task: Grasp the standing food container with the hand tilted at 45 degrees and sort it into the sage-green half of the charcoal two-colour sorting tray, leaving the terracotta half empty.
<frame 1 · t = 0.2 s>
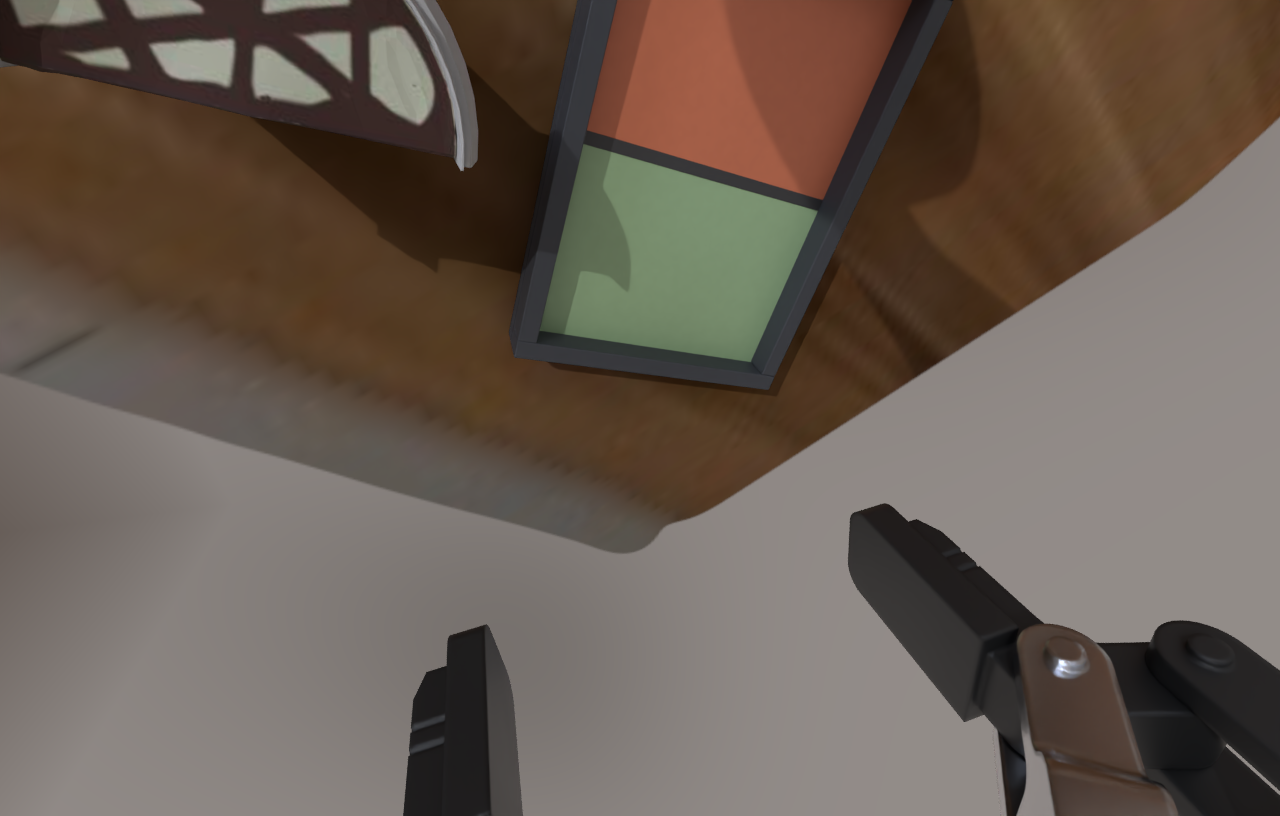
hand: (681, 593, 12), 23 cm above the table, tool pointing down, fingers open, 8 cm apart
sorting tray: (701, 167, 30), on the table
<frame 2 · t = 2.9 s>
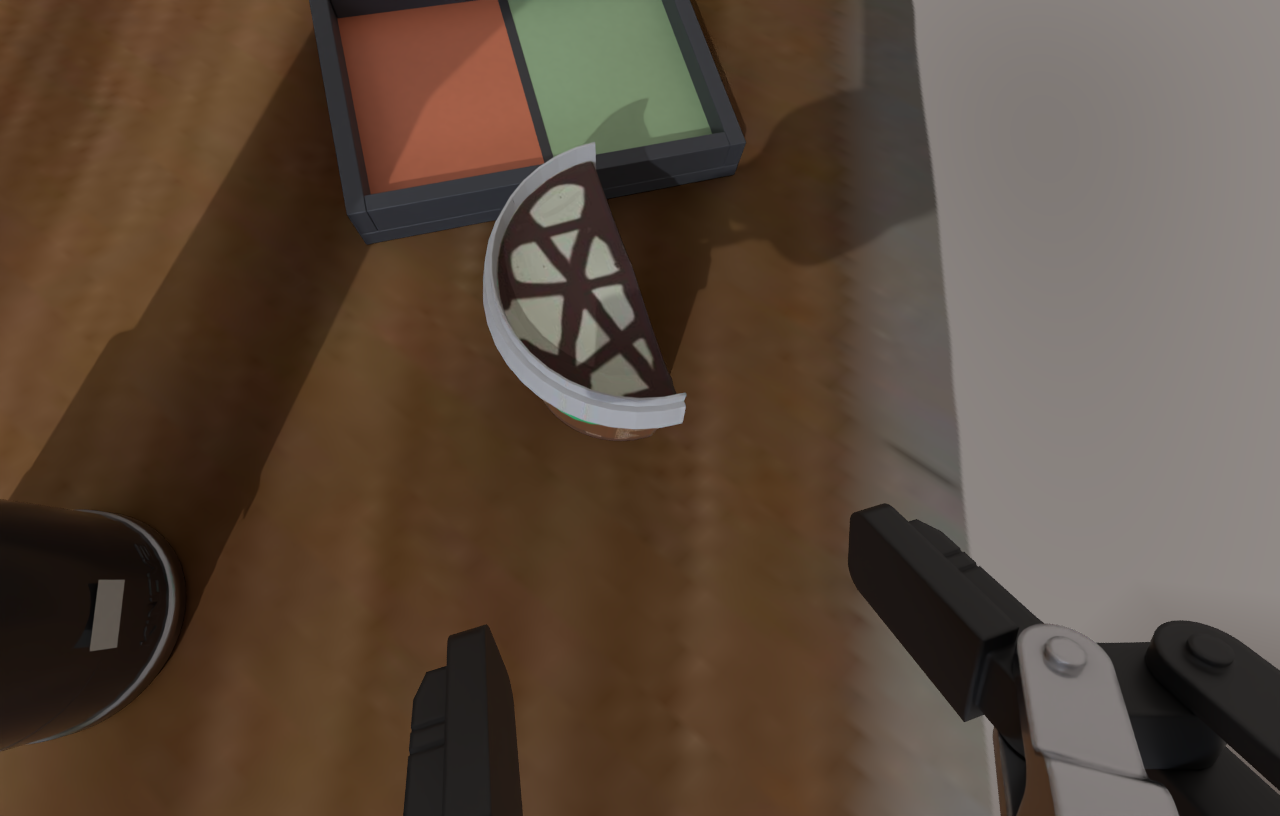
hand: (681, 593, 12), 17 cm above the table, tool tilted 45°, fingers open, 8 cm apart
sorting tray: (528, 100, 36), on the table
food container: (568, 373, 31), on the table
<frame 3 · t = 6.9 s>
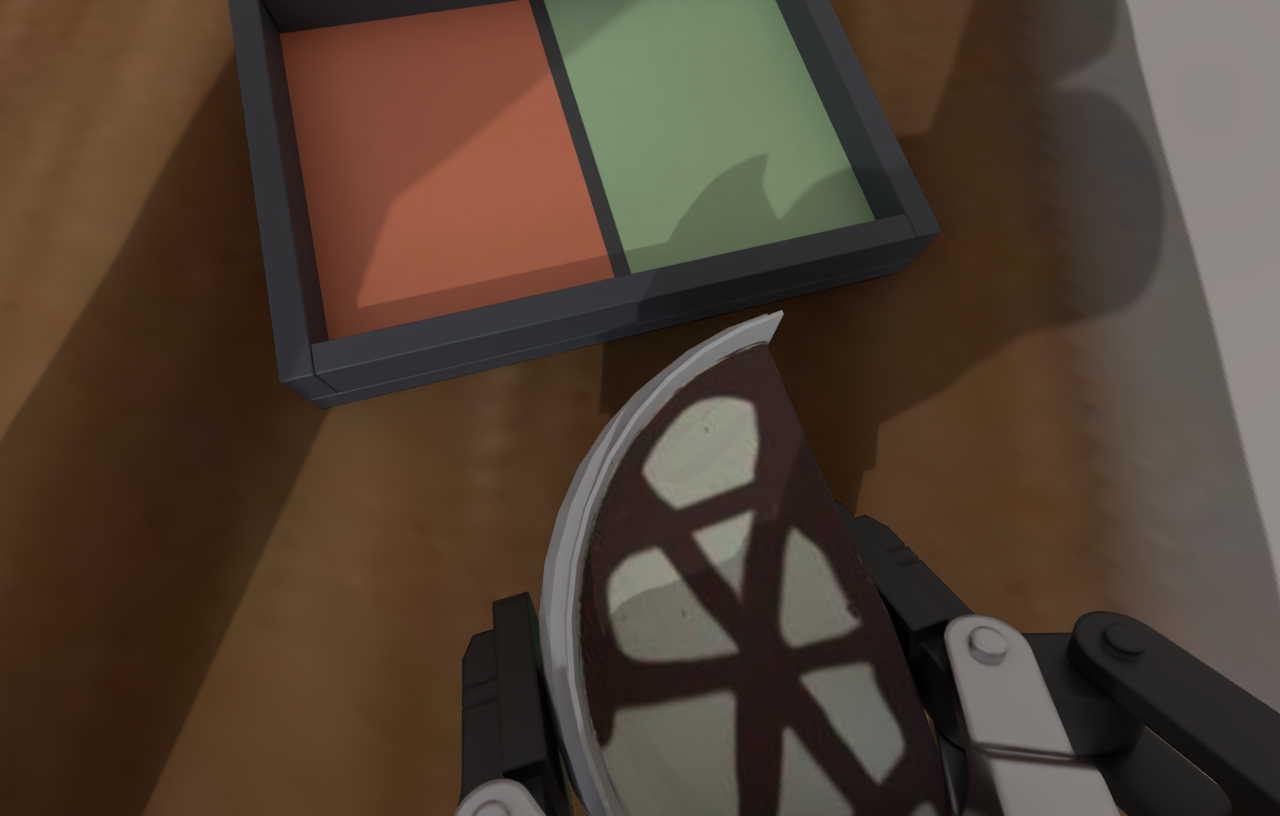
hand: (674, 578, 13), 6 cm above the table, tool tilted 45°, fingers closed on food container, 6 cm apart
sorting tray: (579, 157, 23), on the table
food container: (661, 632, 19), on the table, touching gripper
when the fingers open (8 cm above the table, at t = 15.8 s): food container stays where it is, resting on sorting tray.
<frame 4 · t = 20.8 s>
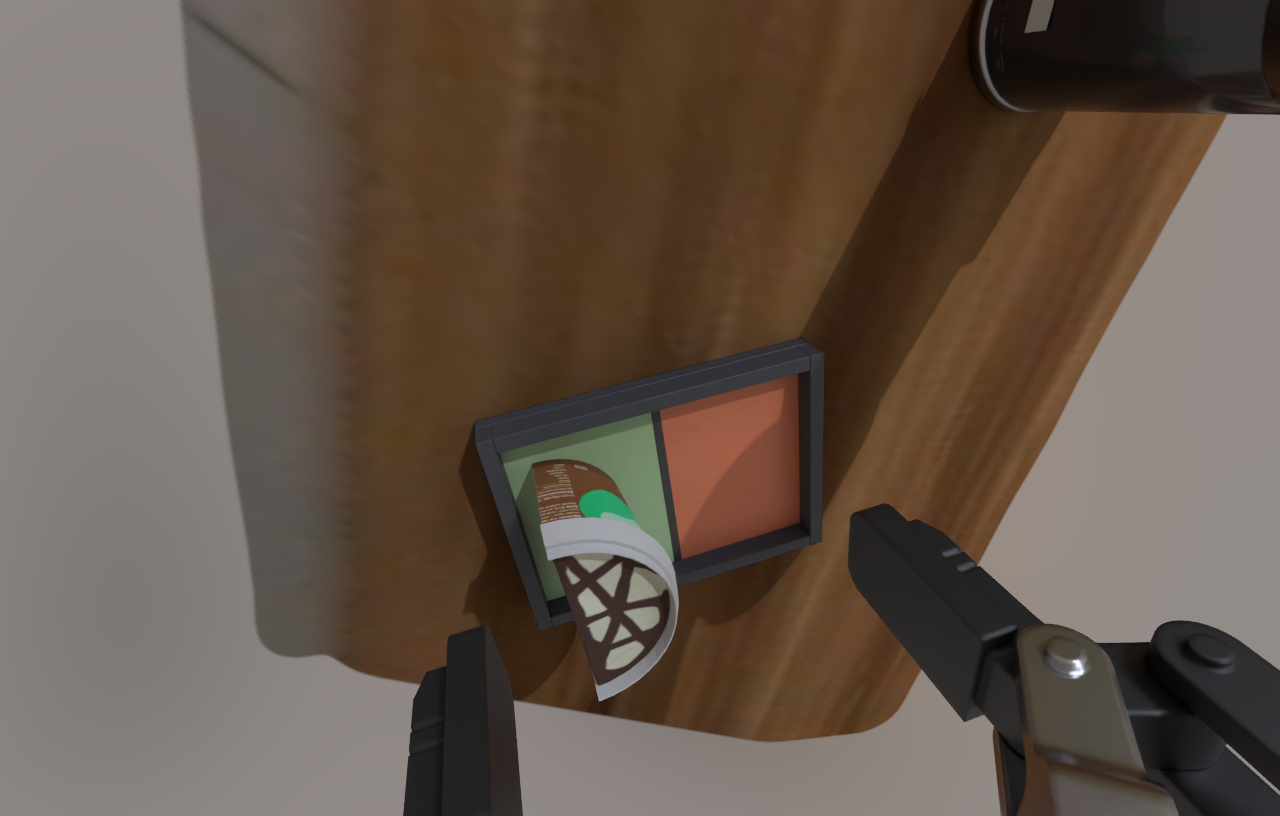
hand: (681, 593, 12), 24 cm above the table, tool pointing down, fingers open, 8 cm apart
sorting tray: (661, 477, 41), on the table
food container: (594, 503, 39), point 1 cm above the table, touching sorting tray
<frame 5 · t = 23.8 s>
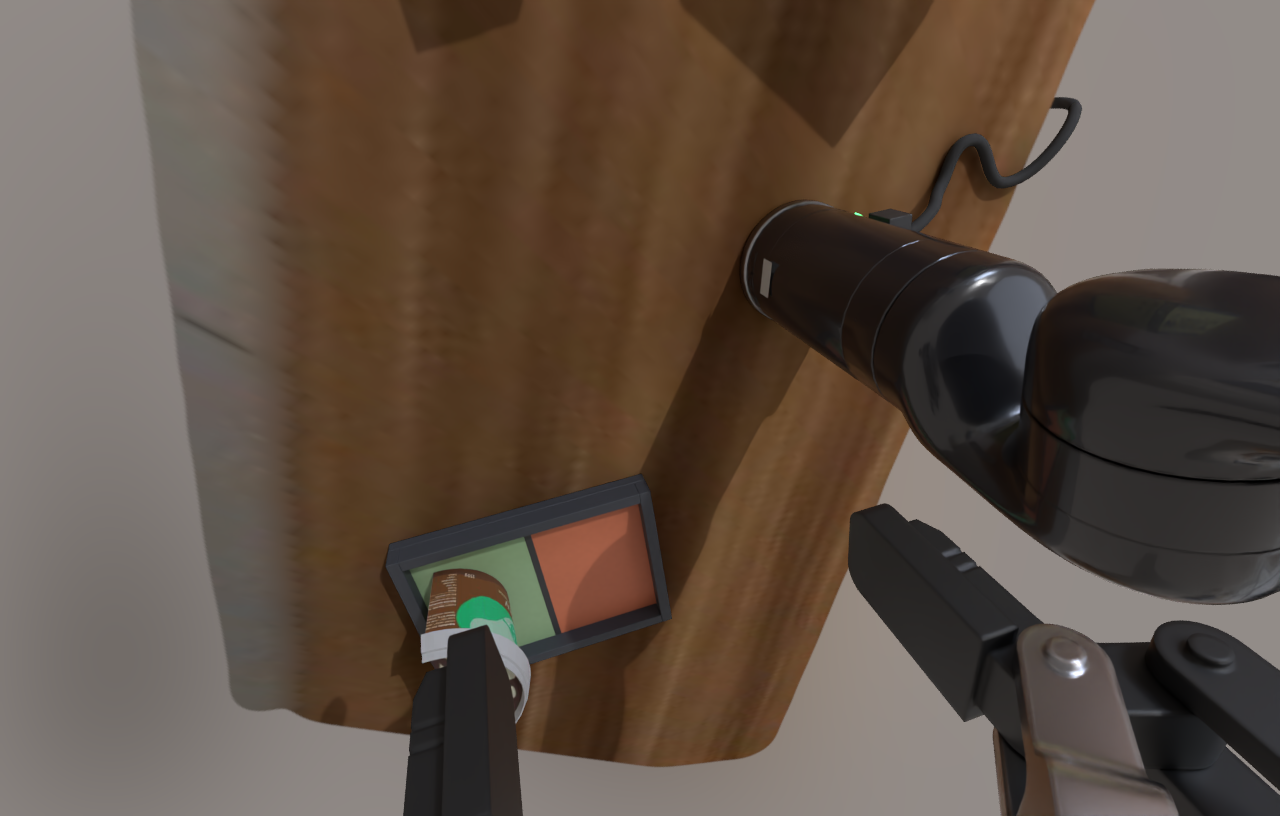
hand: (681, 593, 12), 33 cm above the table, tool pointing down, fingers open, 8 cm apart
sorting tray: (540, 573, 54), on the table
food container: (486, 596, 52), point 1 cm above the table, touching sorting tray
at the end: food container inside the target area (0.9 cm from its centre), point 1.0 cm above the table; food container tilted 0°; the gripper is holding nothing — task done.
